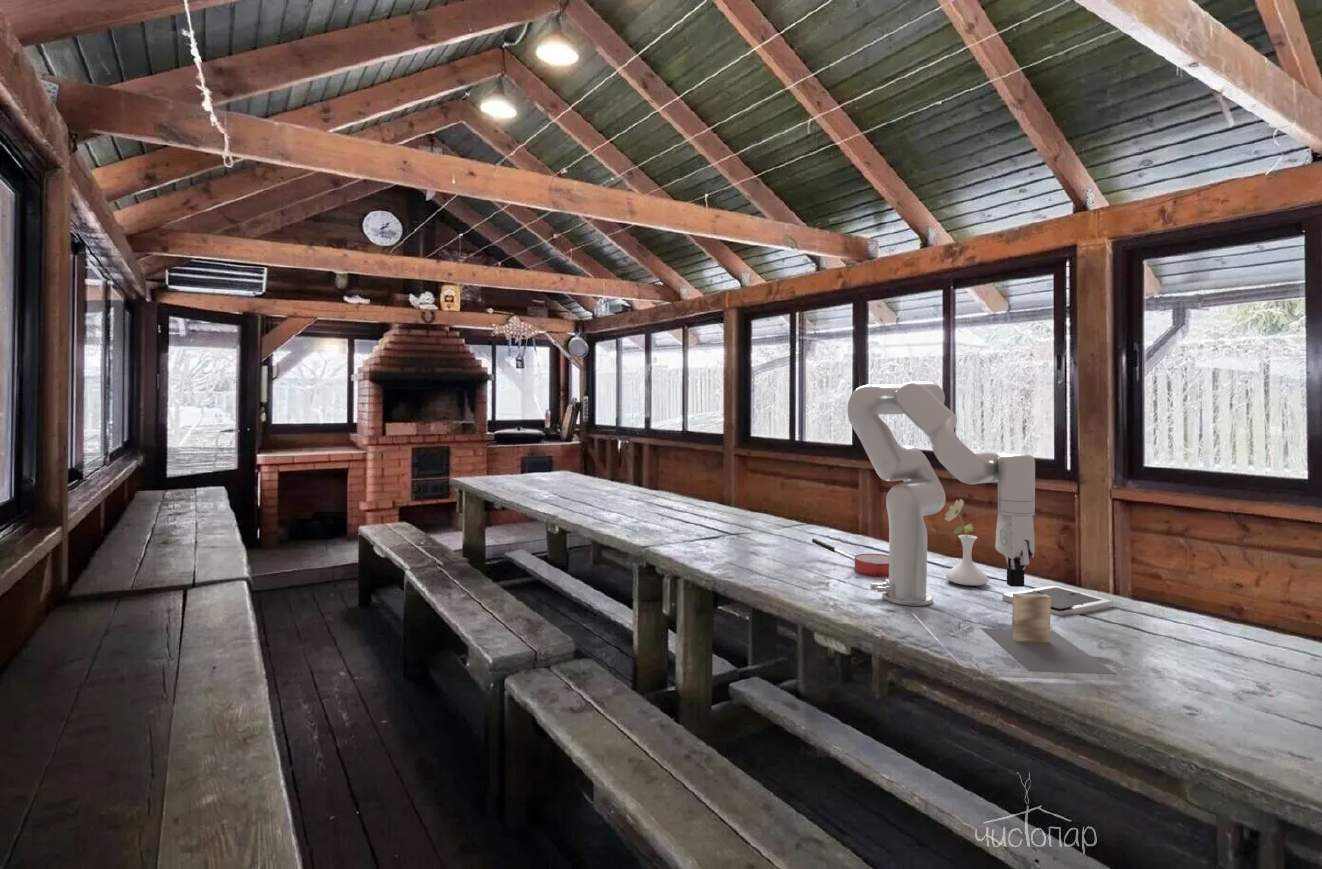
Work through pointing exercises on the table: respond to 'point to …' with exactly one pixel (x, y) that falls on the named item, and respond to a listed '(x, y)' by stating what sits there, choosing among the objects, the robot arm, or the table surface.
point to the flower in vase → (964, 553)
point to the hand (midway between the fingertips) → (1015, 585)
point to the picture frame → (1066, 600)
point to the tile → (1031, 617)
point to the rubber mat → (1047, 654)
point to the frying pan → (864, 561)
